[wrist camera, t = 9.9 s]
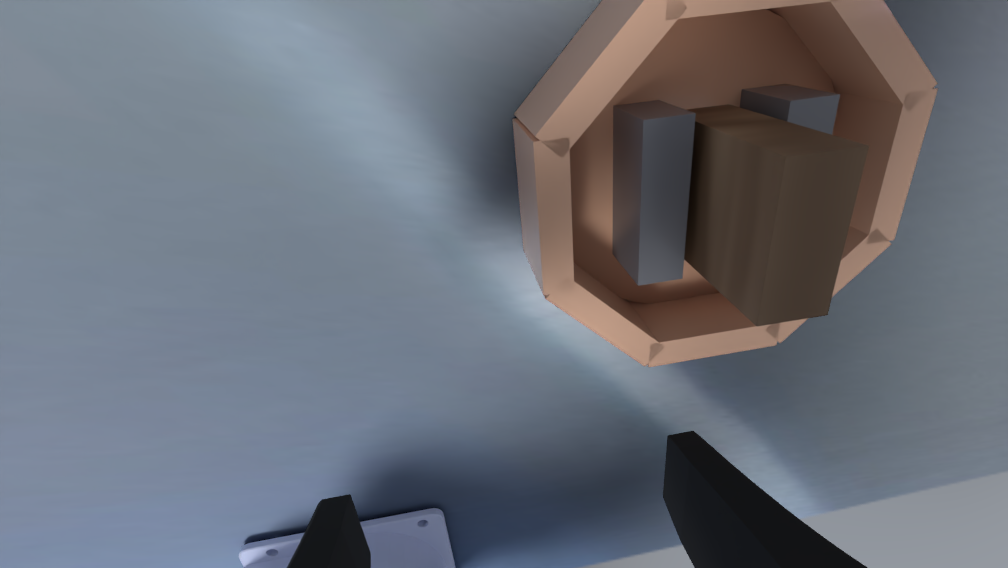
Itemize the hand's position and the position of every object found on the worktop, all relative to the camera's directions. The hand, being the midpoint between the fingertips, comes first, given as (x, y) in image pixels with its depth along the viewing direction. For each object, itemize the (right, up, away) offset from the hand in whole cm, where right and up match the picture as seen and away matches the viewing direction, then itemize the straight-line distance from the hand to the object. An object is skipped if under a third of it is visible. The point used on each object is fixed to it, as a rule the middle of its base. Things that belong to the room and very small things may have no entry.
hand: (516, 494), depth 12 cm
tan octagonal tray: (+6, +9, +7) cm, 13 cm away
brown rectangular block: (+6, +9, +6) cm, 12 cm away
